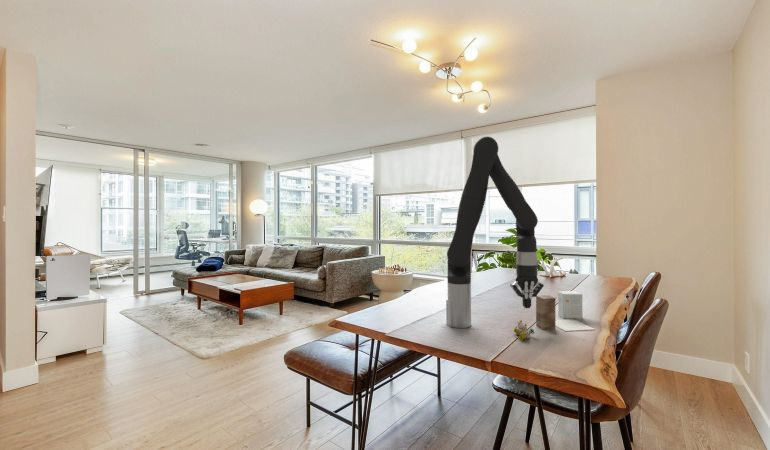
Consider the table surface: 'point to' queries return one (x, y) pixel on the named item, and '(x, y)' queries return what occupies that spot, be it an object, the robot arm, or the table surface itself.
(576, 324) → the mat
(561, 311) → the small box
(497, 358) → the table surface
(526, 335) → the yellow-green lumpy cluster
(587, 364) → the table surface
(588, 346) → the table surface
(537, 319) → the walnut block
